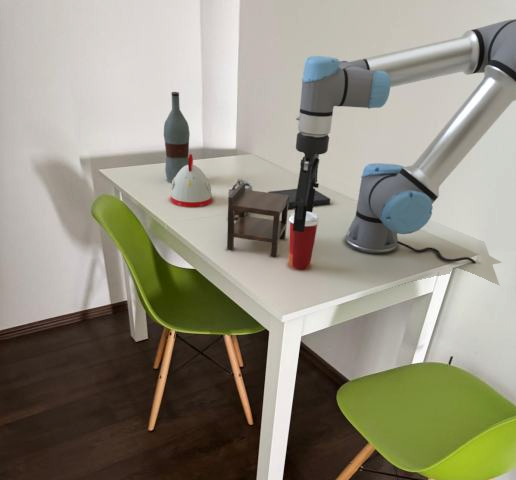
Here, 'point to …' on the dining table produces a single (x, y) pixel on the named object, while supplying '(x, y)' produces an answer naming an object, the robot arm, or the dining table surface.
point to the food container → (239, 181)
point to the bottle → (176, 140)
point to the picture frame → (318, 200)
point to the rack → (252, 225)
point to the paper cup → (302, 242)
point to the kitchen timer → (191, 187)
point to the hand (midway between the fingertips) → (302, 221)
